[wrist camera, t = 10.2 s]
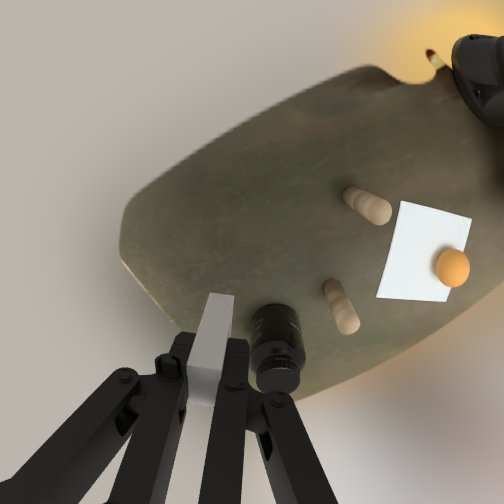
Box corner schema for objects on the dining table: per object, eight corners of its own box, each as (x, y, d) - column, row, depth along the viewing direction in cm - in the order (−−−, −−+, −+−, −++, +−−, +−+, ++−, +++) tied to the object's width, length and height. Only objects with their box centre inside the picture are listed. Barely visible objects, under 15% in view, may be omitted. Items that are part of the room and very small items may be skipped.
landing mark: (470, 218, 33) (471, 219, 33) (445, 301, 38) (445, 301, 37) (400, 200, 33) (401, 200, 32) (375, 296, 37) (376, 297, 37)
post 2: (362, 188, 32) (394, 201, 24) (359, 207, 33) (388, 226, 25) (344, 184, 32) (371, 196, 24) (340, 204, 33) (366, 222, 25)
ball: (476, 254, 31) (472, 259, 28) (465, 288, 33) (458, 297, 30) (446, 242, 35) (438, 245, 32) (436, 275, 37) (427, 282, 34)
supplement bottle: (307, 310, 38) (321, 369, 27) (287, 346, 41) (294, 407, 29) (260, 296, 38) (260, 354, 27) (244, 333, 40) (238, 395, 29)
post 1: (342, 280, 37) (362, 316, 28) (338, 296, 38) (356, 334, 29) (325, 278, 37) (341, 315, 28) (321, 295, 37) (335, 334, 29)
